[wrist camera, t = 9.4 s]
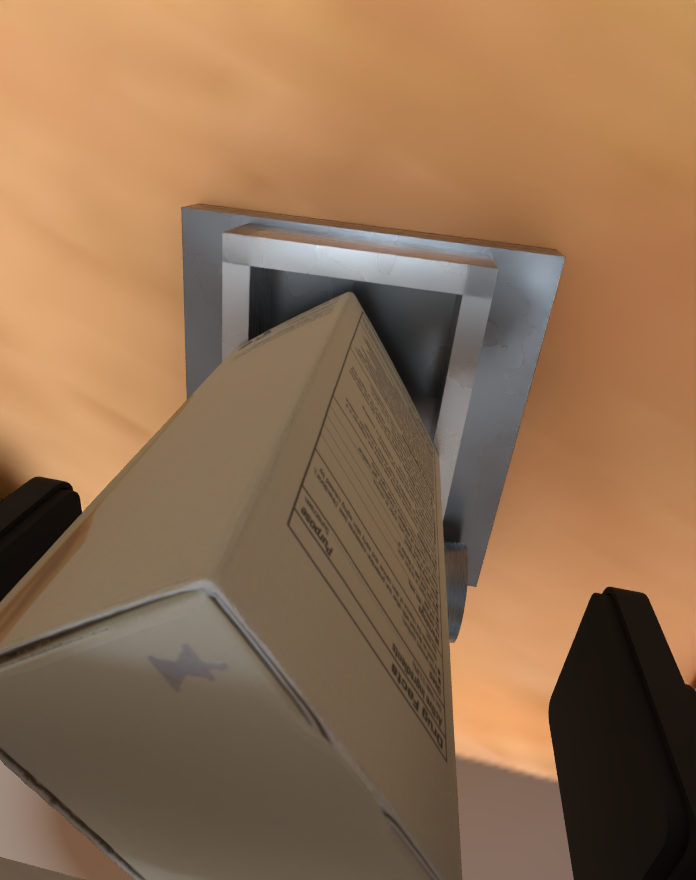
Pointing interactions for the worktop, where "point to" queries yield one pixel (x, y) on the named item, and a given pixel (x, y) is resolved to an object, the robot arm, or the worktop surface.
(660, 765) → the robot arm
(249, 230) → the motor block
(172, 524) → the skincare box
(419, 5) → the worktop surface
